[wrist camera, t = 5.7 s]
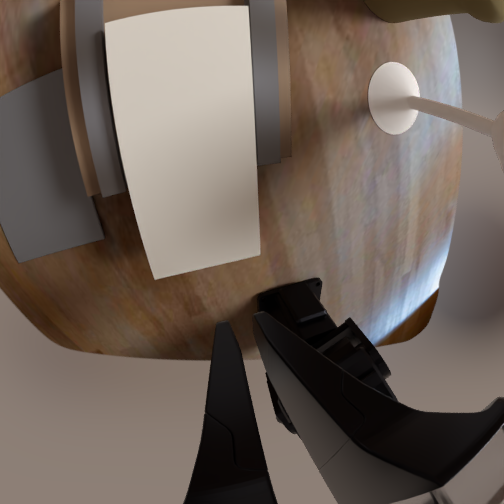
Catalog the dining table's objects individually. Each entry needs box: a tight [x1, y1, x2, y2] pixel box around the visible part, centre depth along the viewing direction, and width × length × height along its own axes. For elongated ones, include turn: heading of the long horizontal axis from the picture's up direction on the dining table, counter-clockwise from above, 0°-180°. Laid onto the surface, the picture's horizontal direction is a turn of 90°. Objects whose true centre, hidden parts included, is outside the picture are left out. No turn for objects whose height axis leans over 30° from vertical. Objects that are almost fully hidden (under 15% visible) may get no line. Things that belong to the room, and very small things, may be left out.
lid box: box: [60, 0, 291, 198], centre depth 11 cm, size 13×11×5 cm
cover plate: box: [105, 6, 260, 279], centre depth 12 cm, size 13×6×2 cm, turn 3°
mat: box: [0, 68, 105, 263], centre depth 13 cm, size 12×8×1 cm, turn 3°
